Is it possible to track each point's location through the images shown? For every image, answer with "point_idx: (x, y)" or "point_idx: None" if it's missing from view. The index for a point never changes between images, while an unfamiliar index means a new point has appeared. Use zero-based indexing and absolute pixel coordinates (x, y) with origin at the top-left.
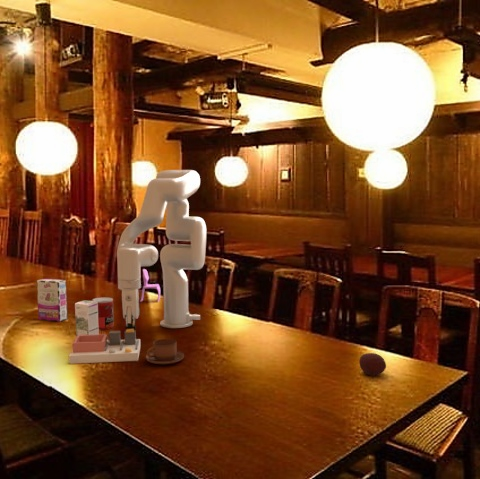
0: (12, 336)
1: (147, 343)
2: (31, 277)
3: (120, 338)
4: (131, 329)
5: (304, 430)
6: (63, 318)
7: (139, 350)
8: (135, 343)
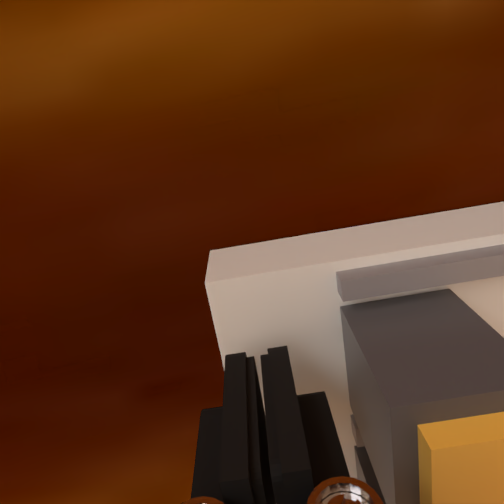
0: None
1: (93, 200)
2: None
3: (373, 482)
4: (477, 473)
5: None
6: None
7: (414, 221)
8: (402, 295)
